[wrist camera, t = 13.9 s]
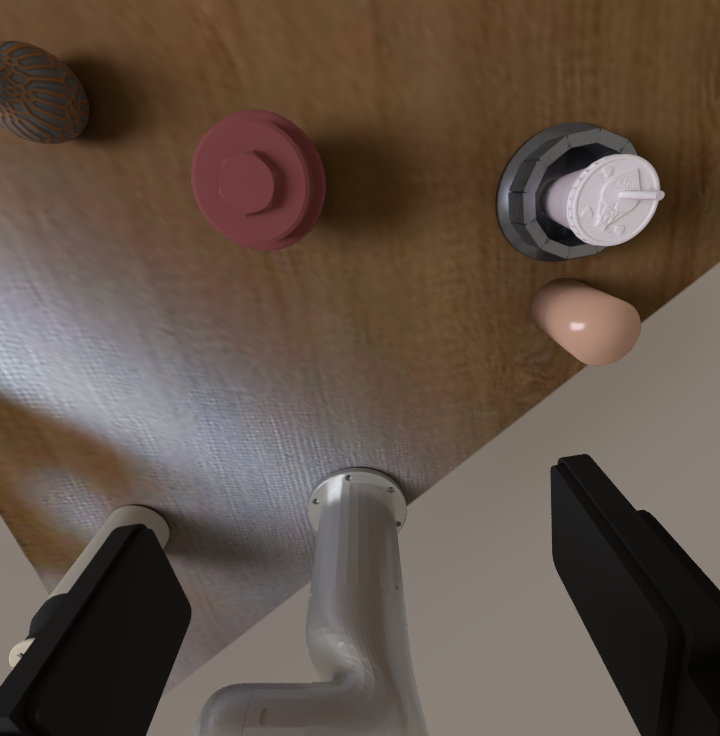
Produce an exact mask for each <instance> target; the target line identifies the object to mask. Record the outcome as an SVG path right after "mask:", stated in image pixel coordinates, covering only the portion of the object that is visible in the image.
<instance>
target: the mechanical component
mask: <svg viewBox="0 0 720 736" xmlns="http://www.w3.org/2000/svg"><path fill="white" fill-rule="evenodd" d="M191 183H192V189H193V193H194V197H195V199H196V202H197V204H198V206H199V208H200V210H201V212H202V214H203V215H204V216H205V218H206V219H207V221H208V222H209V223H210V224H211V225H212V226H213V227H214V228H215V229H216V230H217V231H219V232H220V233H221V234H223V235H224V236H226V237H227V238H228V239H230V240H231V241H233V242H235V243H237V244H239V245H241V246H243V247H246V248H249V249H254V250H260V251H271V250H278V249H282V248H285V247H288V246H290V245H292V244H294V243H296V242H297V241H299V240H300V239H301V238H303V237H304V236H305V235H306V234H307V233H308V232H309V231H310V230H311V229H312V227H313V226H314V225H315V224H316V222H317V220H318V218H319V216H320V214H321V211H322V209H323V206H324V201H325V195H326V177H325V171H324V167H323V164H322V161H321V158H320V156H319V154H318V151H317V150H316V148H315V146H314V145H313V143H312V142H311V140H310V139H309V138H308V137H307V135H306V134H305V133H304V132H303V131H302V130H301V129H300V128H299V127H297V126H296V125H295V124H294V123H292V122H291V121H289V120H288V119H286V118H284V117H282V116H280V115H278V114H275V113H273V112H268V111H264V110H244V111H240V112H236V113H233V114H231V115H229V116H227V117H225V118H224V119H222V120H221V121H219V122H218V123H217V124H216V125H215V126H214V127H212V128H211V129H210V130H209V131H208V132H207V133H206V134H205V135H204V136H203V137H202V139H201V141H200V142H199V144H198V146H197V148H196V150H195V153H194V156H193V160H192V165H191Z"/></svg>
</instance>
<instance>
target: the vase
mask: <svg viewBox="0 0 720 736" xmlns="http://www.w3.org/2000/svg"><path fill="white" fill-rule="evenodd" d="M88 118H89V102H88V98H87V95H86V92H85V90H84V88H83V86H82V84H81V83H80V81H79V79H78V78H77V77H76V75H75V74H74V73H73V72H72V71H71V70H70V68H69V67H68V66H67V65H65V64H64V63H63V62H62V61H61V60H60V59H58V58H57V57H55V56H54V55H52V54H50V53H49V52H47V51H45V50H43V49H41V48H39V47H36V46H34V45H31V44H28V43H24V42H18V41H1V42H0V126H2V127H3V128H5V129H6V130H8V131H9V132H11V133H13V134H15V135H17V136H19V137H21V138H23V139H26V140H29V141H32V142H37V143H43V144H59V143H64V142H67V141H70V140H72V139H74V138H75V137H77V136H78V135H79V134H80V133H81V132H82V131H83V130H84V128H85V127H86V125H87V122H88Z"/></svg>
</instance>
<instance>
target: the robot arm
mask: <svg viewBox="0 0 720 736" xmlns="http://www.w3.org/2000/svg"><path fill="white" fill-rule="evenodd" d="M551 511H552V512H551V514H552V555H553V561H554V564H555V567H556V570H557V572H558V574H559V576H560V578H561V580H562V582H563V584H564V586H565V588H566V590H567V592H568V594H569V596H570V598H571V599H572V601H573V603H574V605H575V607H576V609H577V611H578V613H579V615H580V617H581V619H582V621H583V623H584V625H585V627H586V628H587V631H588V632H589V635H590V636H591V639H592V640H593V642H594V644H595V646H596V648H597V650H598V652H599V654H600V656H601V658H602V660H603V662H604V664H605V666H606V668H607V670H608V672H609V674H610V676H611V677H612V680H613V681H614V683H615V685H616V687H617V689H618V691H619V693H620V695H621V697H622V699H623V701H624V703H625V705H626V707H627V709H628V711H629V713H630V715H631V717H632V719H633V721H634V722H635V724H636V726H637V728H638V730H639V732H640V734H641V736H720V590H719V589H718V588H717V587H716V586H715V585H714V583H713V582H712V581H711V580H710V579H709V578H708V577H707V576H706V575H705V573H704V572H702V570H701V569H700V568H699V567H698V566H697V564H696V563H695V562H694V561H693V560H692V559H691V558H690V557H689V555H688V554H687V553H686V552H685V551H684V550H683V549H682V548H681V546H680V545H679V544H678V543H677V542H676V541H675V540H674V539H673V538H672V536H671V535H670V534H669V533H668V532H667V531H666V530H665V528H664V527H663V526H662V525H661V524H660V523H659V522H658V521H657V520H656V518H654V517H653V516H652V515H651V514H650V513H649V512H647V511H645V510H639V511H636V510H635V509H634V507H633V506H632V505H631V504H630V503H629V501H628V500H627V499H626V498H625V497H624V496H623V494H622V493H621V492H620V491H619V490H618V489H617V487H616V486H615V485H614V484H613V483H612V482H611V480H610V479H609V478H608V477H607V476H606V474H605V473H604V472H603V471H602V470H601V469H600V467H599V466H598V465H597V464H596V463H595V462H594V460H593V459H592V458H591V457H590V456H589V455H587V454H582V455H575V456H569V457H562V458H560V459H559V460H558V465H555V466H552V467H551ZM406 514H407V506H406V500H405V496H404V494H403V492H402V490H401V488H400V487H399V486H398V484H397V483H396V482H395V481H394V480H392V479H391V478H390V477H388V476H387V475H385V474H383V473H381V472H378V471H376V470H372V469H367V468H347V469H343V470H339V471H336V472H334V473H332V474H330V475H328V476H326V477H325V478H324V479H322V480H321V481H320V482H319V483H318V484H317V485H316V486H315V488H314V490H313V491H312V493H311V496H310V499H309V504H308V517H309V520H310V523H311V525H312V527H313V529H314V530H315V531H316V532H317V540H316V548H315V556H314V564H313V572H312V580H311V588H310V596H309V604H308V613H307V621H306V643H307V648H308V652H309V656H310V658H311V661H312V663H313V665H314V668H315V670H316V671H317V673H318V675H319V677H320V678H321V680H322V682H313V683H242V684H233V685H229V686H226V687H223V688H222V689H219V690H218V691H216V692H215V693H214V694H213V695H212V696H211V697H210V698H209V699H208V700H207V702H206V703H205V705H204V706H203V708H202V709H201V711H200V714H199V716H198V718H197V720H196V723H195V726H194V729H193V732H192V736H429V733H428V730H427V726H426V722H425V718H424V715H423V711H422V707H421V703H420V699H419V695H418V691H417V686H416V681H415V676H414V672H413V665H412V660H411V653H410V645H409V638H408V629H407V620H406V612H405V602H404V593H403V583H402V574H401V565H400V556H399V546H398V537H397V534H398V532H399V531H400V530H401V528H402V527H403V525H404V522H405V520H406ZM190 620H191V606H190V603H189V601H188V599H187V597H186V595H185V593H184V591H183V589H182V587H181V585H180V583H179V581H178V579H177V577H176V575H175V573H174V571H173V569H172V567H171V565H170V563H169V561H168V559H167V557H166V555H165V553H164V551H163V549H162V547H161V545H160V543H159V541H158V539H157V537H156V535H155V533H154V531H153V530H152V529H148V528H147V526H146V525H144V524H140V523H139V524H133V525H126V526H120V527H117V528H115V529H114V530H113V531H112V532H111V533H110V535H109V536H108V537H107V539H106V540H105V542H104V543H103V544H102V546H101V547H100V549H99V550H98V551H97V553H96V554H95V556H94V557H93V558H92V560H91V561H90V563H89V564H88V565H87V567H86V568H85V570H84V571H83V572H82V574H81V575H80V576H79V578H78V579H77V581H76V582H75V583H74V585H73V586H72V588H71V589H70V590H69V592H68V593H67V595H66V596H65V597H64V599H63V600H62V602H61V603H60V604H59V606H58V607H57V608H56V610H55V611H54V613H53V614H52V615H51V617H50V618H49V620H48V621H47V622H46V624H45V625H44V627H43V628H42V629H41V631H40V632H39V634H38V635H37V636H36V638H35V639H34V641H33V642H32V643H31V645H30V646H29V647H28V649H27V650H26V652H25V653H24V654H23V656H22V657H21V659H20V660H19V661H18V663H17V664H16V666H15V667H14V668H13V670H12V671H11V673H10V674H9V675H8V677H7V678H6V679H5V681H4V682H3V684H2V685H1V686H0V736H146V734H147V731H148V728H149V726H150V723H151V721H152V718H153V716H154V713H155V711H156V708H157V705H158V703H159V700H160V698H161V695H162V693H163V690H164V687H165V685H166V682H167V680H168V677H169V675H170V672H171V670H172V667H173V664H174V662H175V659H176V657H177V654H178V652H179V649H180V646H181V644H182V641H183V639H184V636H185V634H186V631H187V628H188V626H189V623H190Z"/></svg>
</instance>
